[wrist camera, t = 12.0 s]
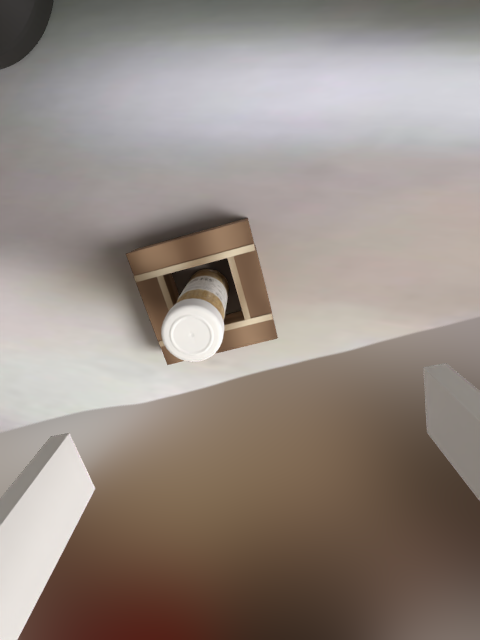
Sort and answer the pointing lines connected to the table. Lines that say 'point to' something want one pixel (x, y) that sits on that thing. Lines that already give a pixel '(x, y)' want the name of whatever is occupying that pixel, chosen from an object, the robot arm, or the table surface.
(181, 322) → the sprinkles bottle
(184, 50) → the table surface
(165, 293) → the socket
